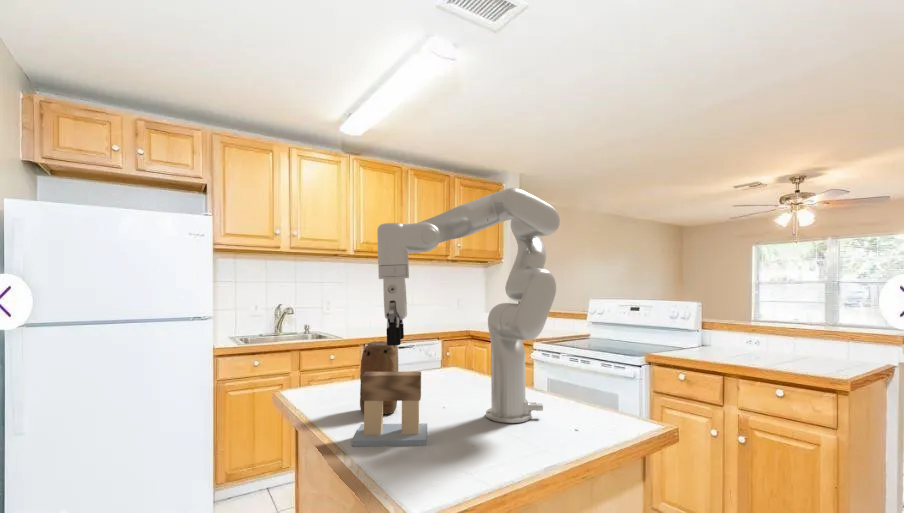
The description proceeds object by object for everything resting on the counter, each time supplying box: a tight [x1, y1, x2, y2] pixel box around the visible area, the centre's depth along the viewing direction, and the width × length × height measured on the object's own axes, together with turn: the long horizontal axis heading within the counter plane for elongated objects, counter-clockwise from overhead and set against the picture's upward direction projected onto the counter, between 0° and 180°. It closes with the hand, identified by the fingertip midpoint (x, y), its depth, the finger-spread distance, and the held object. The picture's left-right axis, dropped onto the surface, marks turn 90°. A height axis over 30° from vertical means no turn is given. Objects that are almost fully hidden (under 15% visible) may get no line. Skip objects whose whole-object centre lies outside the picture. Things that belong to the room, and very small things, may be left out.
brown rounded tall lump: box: [359, 340, 399, 415], centre depth 130 cm, size 11×8×20 cm
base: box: [351, 401, 428, 447], centre depth 108 cm, size 17×12×9 cm
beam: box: [362, 371, 422, 402], centre depth 109 cm, size 14×4×6 cm, turn 91°
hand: (395, 341), depth 110 cm, fingers open, 9 cm apart
